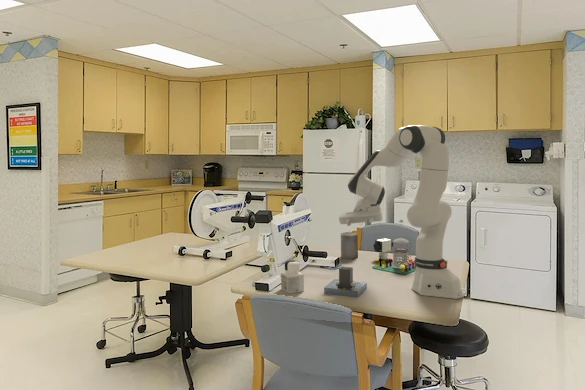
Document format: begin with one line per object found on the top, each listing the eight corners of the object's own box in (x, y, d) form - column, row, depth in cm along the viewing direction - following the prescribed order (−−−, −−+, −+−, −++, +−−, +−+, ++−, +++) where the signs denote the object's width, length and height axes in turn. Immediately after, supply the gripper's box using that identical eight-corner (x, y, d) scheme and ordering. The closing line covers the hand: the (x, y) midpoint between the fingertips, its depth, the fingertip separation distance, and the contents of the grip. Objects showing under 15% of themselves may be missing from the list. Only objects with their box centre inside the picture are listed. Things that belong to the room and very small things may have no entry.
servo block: (338, 288, 205) (338, 266, 204) (356, 290, 201) (356, 267, 201) (334, 292, 199) (334, 269, 198) (352, 294, 196) (352, 271, 195)
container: (281, 289, 205) (280, 260, 203) (297, 286, 208) (296, 258, 206) (287, 293, 198) (287, 264, 196) (304, 291, 201) (303, 262, 199)
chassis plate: (334, 284, 211) (334, 279, 210) (366, 288, 205) (366, 282, 204) (324, 293, 198) (324, 287, 198) (358, 297, 192) (358, 291, 192)
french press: (387, 265, 244) (388, 218, 242) (407, 264, 247) (408, 217, 245) (396, 270, 235) (397, 221, 232) (417, 268, 237) (417, 220, 235)
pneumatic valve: (393, 258, 261) (393, 237, 260) (379, 261, 254) (379, 239, 253) (385, 256, 265) (386, 235, 264) (371, 259, 258) (372, 238, 257)
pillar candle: (350, 254, 271) (350, 229, 270) (361, 257, 263) (361, 231, 262) (337, 256, 266) (337, 231, 265) (348, 260, 258) (347, 233, 257)
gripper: (340, 208, 226) (335, 219, 213) (382, 204, 219) (379, 215, 207) (342, 220, 228) (337, 231, 215) (384, 216, 221) (381, 227, 208)
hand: (358, 223), depth 211 cm, fingers open, 8 cm apart
